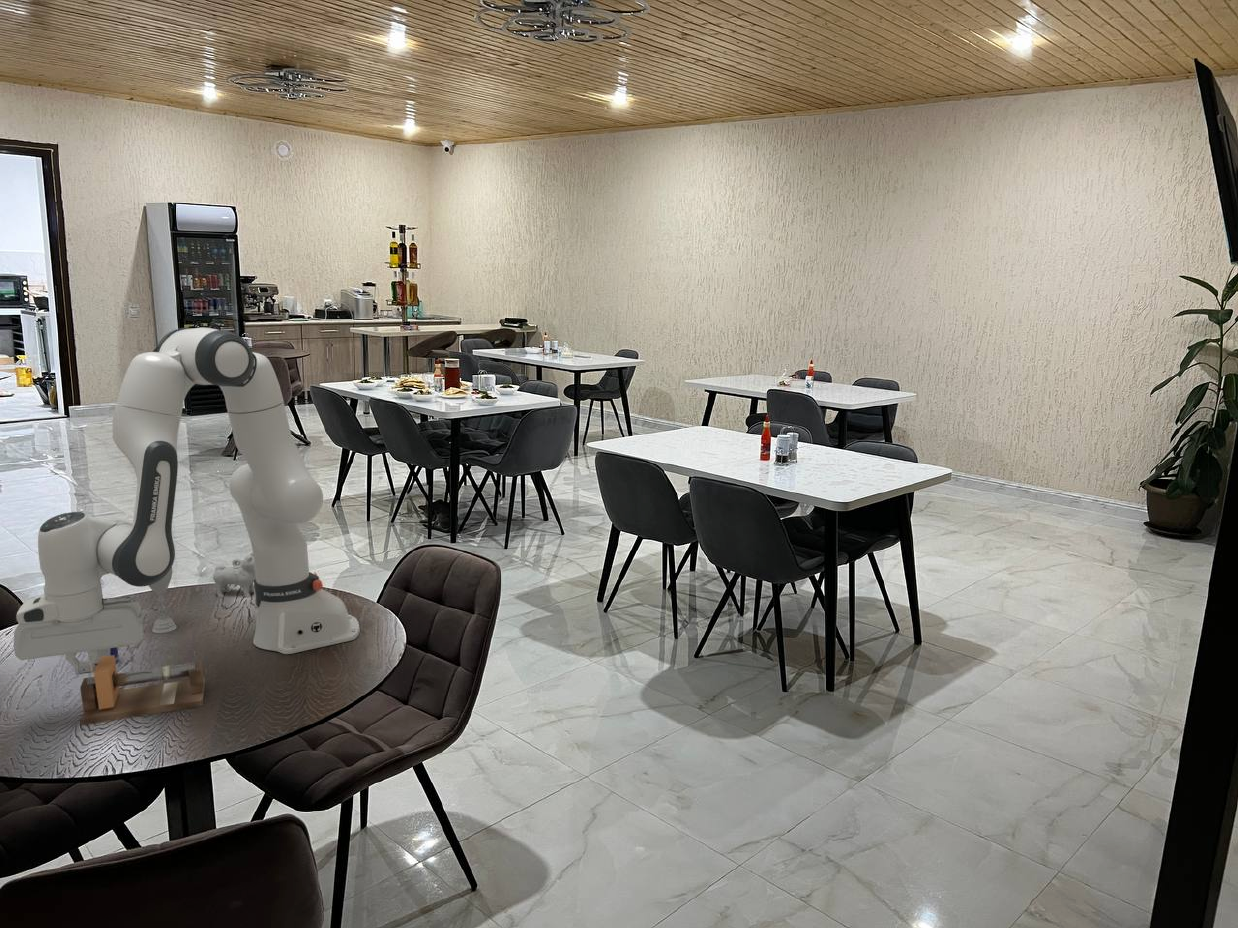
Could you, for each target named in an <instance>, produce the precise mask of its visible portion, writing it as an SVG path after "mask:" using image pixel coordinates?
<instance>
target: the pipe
mask: <svg viewBox="0 0 1238 928" xmlns="http://www.w3.org/2000/svg"><path fill="white" fill-rule="evenodd" d="M191 669H195V663H194V662H190V663H184V664H177V665H176V664H175V665H165V666H162V667H154V668H148V669H142V670H141V669H139V670H133V671H126V672H121V673H117V674H113V675H112V681H113V687H119V688H120V687H124V686H132V685H133V686H134V685H138V684H146V683H151V682H152V683H153V682H159V681H168V680H169V681H170V680H173V679H180V678H185V677H186V678H187V677H189V670H191ZM87 678H88V680H87V685H88V684H94V690H96V684H95V677H94V676H91V678H89V677H87Z"/></svg>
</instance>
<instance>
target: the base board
mask: <svg viewBox="0 0 1238 928" xmlns="http://www.w3.org/2000/svg"><path fill="white" fill-rule="evenodd" d="M193 663H195V669H191V670H189V676H188V678H189V679H184V680H178V681H173V682H166V683H165V682H164V683H158V684H152V685H143V686H138V687H131V688H126V689H125V688H123V689H119V692H118V695H117V699H116V702H115V705H114V707H112V708H105V709H99V705H98V698H97V691H96V690H94V684H88V685H87V680H88V678H91V677H92V676H91V677H83V680H82V682H81V684H80V687H79V688H80V697H81V702H82V709H83V710H82V711H83V713H82V714H81V718H80V722H81V724H80V725H81V726H85V725H92V724H97V723H98V724H99V723H104V722H105V723H106V722H111V721H116V720H123V719H130V718H135V717H136V718H137V717H142V716H143V717H144V716H146V715H148V716H149V715H155V714H160V713H167V712H173V711H180V710H186V709H190V708H191V709H192V708H198V707H203V706H204V698H205V688H206V678H205V677H204V674H203V673H204V672H203V663H202V661H201V660H200V661H194V662H193Z"/></svg>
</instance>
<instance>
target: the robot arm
mask: <svg viewBox="0 0 1238 928" xmlns="http://www.w3.org/2000/svg"><path fill="white" fill-rule="evenodd" d="M195 385H201V386H209V385H212V386H218V387H219V388H220V389H221V392H222V393H223V396H224V400H225V406H226V410H227V414H228V419H229V423H230V427H231V431H232V435H233V439H234V444H235V446H236V448H237V450H238V452H239V453H240V454H241V455H242V456H243V458H244V460H245V461H246V463H245V464H241V466H239V467H238V468H236V470H234V472H233V473H232V475H231V477H230V480H229V492H230V495H231V497H232V498H233V499H234V501H235V503H236V504H237V506H238V508H239V511H240V514H241V516H242V519H243V522H244V524H245V525H244V526H245V528H246V531H247V534H248V537H249V540H250V545H251V548H252V552H253V558H254V567H255V577H256V579H255V580H254V582H253V587H254V592H253V594H254V595H253V596H254V601H255V606H256V624H255V631H254V636H253V639H252V640H253V641H252V642H253V645H255V646H256V647H257V648H260V649H262V650H265V651H266V650H267V651H274V652H278V653H281V654H283V655H293V654H296V653H300V652H305V651H309V650H314V649H318V648H323V647H327V646H331V645H332V646H333V645H336V644H342V643H345V642H349V641H353V640H355V639H356V638H357V637H358V636H359V635H360V631H361V628H360V624H359V621H358V619H357V618H356V617H355V616H353V615H351V614H349V612H348V609H347V606H346V605H345V603H344V600H342V599H341V598H340V597H339V596H336V595H334V594H332V593H330V592H328V591H326V590H324V589H323V587H324V585H323V582H322V580H320V576H318V574H317V573H316V572H314V573H312V572H311V571H310V567H309V565H310V564H309V554H308V542H307V540H306V537H305V535H304V534H303V533H302V531H301V529H300V527H299V525H298V524H302V523H307V522H309V521H311V520H313V519H315V517H316V516H317V515H318V514H319V512H320V511H321V509H322V506H323V503H324V493H323V490H322V487H321V486H320V484H318V483H317V481H316V480H315V479H314V478H313V476H312V474H311V473H310V472H309V470H308V468H307V466H306V464H305V462H304V460H303V458H302V455H301V454H300V452H299V449H298V447H297V445H296V443H295V440H294V438H293V435H292V432H291V429H290V423H289V420H288V415H287V414H288V413H287V410H286V406H285V402H284V397H283V393H282V390H281V386H280V383H279V380H278V378H277V375H276V372H275V370H274V368H273V365H272V363H271V362H270V360H269V359H268V357H267V356H265V355H264V354H261V353H259V352H253V351H252V349H251V347H250V346H249V345H248V343H247V341H245V340H244V339H243V338H242V337H241V336H239V335H238V334H236V333H233V332H232V331H229V330H223V329H216V328H211V327H195V328H191V327H180V328H177V329H174V330H171V331H169V332H168V333H166V334H165V335H164V336H163V337H162V338H161V340H159V342H158V344H157V346H156V347H155V348H154V349H153V350H152V351H147V352H142V353H140V354H138V355H136V356H134V357H133V359H132V360H131V361H130V363H129V366H128V367H127V370H126V371H125V374H124V377H123V379H122V382H121V385H120V388H119V392H118V395H117V399H116V404H115V408H114V412H113V417H112V429H111V430H112V439H113V442H114V444H115V445H116V447H117V448H118V450H120V452H121V453H122V454H123V455H124V456H125V457H126V458H127V460H128V461H129V463H130V465H132V468H133V470H134V471H135V472H134V473H135V475H136V476H135V477H136V479H137V481H136V484H137V485H136V486H137V487H136V495H135V503H134V511H133V521H132V523H131V522H129V521H125V520H122V519H121V520H119V519H103V518H99V517H94V516H91V515H88V514H86V513H85V512H82V511H71V512H64V513H61V514H58V515H55V516H53V517H50V518H49V519H47V520H46V521H44V522H43V523H42V524H41V526H40V528H39V530H38V533H37V534H38V535H37V549H38V552H37V553H38V559H39V567H40V570H41V573H42V575H43V577H44V587H43V594H41V595H39V596H36V597H33V598H30V599H28V600H26V601H24V603H23V604H22V605H21V606H20V607H19V609H18V611H17V612H16V617H15V619H16V622H17V623H18V624H17V625H16V627H15V629H14V632H13V648H14V651H13V652H14V655H15V657H16V658H18V660H20V661H26V660H35V659H40V658H41V659H42V658H48V657H56V656H62V655H63V656H64V655H65V660H66V661H67V662H68V663H69V664H70V665H71V666H72V667H74V672H75V673H74V674H75V675H83V674H91V673H94V672H95V669H96V668H95V664H94V661H95V659H96V657H97V655H98V653H99V650H101V649H108V648H115V647H117V648H121V647H129V646H130V647H131V646H136V645H138V644H140V642H141V641H142V640H143V638H144V628H143V623H142V620H141V617H140V616H141V615H142V605H141V601H140V600H138V598H135V597H131V595H130V596H129V595H124V596H119V597H108V598H107V597H106V598H104V596H103V589H102V582H101V580H102V578H103V576H104V575H108V574H111V575H114V576H116V577H118V578H119V579H120V580H122V581H123V582H125V583H127V585H130V586H133V587H141V588H142V587H149V585H152V584H154V583H156V582H158V581H159V580H161V579H162V578H163V577H164V576H165V575H166V574H167V573H168V572H169V571H170V569H171V567H172V568H173V565H174V562H175V559H176V556H175V555H176V551H175V543H174V539H173V534H172V533H173V532H172V530H173V527H172V526H173V525H172V524H173V517H174V510H175V509H174V508H175V499H176V498H175V497H176V491H177V490H176V489H177V481H178V469H179V468H178V467H179V463H178V462H179V461H178V438H179V437H178V436H179V435H178V434H179V430H180V429H179V428H180V423H181V417H182V413H183V407H184V401H185V398H186V397H187V395H188V393H189V391H190V390H191V388H192V387H194V386H195ZM85 652H87V653H88V652H89V656H92V655H93V656H92V658H91V659H90V661H89V660H86V661H80V660H79V658H77V657H76V656H77V654H78V653H85Z"/></svg>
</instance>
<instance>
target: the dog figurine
mask: <svg viewBox="0 0 1238 928" xmlns="http://www.w3.org/2000/svg"><path fill="white" fill-rule="evenodd" d="M231 565H233V566H230V567H229V566H225V565H217V566H216V567H215V568H214V572H213V575H212V579H213V581H214V583H215V588H216V595H217V597H218V598H224V597H225V595H224V593H226V592H230V588H229V586H228V585H235V586H239V587H241V589H242V590H243V595H244V598H245V599H247V598H250V597H251V595H250V593H254V580H255V579H256V577H255V567H254V558H253V551H252V552H251V553H249V554H248V555H246V556H245V557H244V558H243V559H240V558H234V559H233V560H232V563H231ZM222 590H223V591H222ZM223 592H224V593H223Z"/></svg>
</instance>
